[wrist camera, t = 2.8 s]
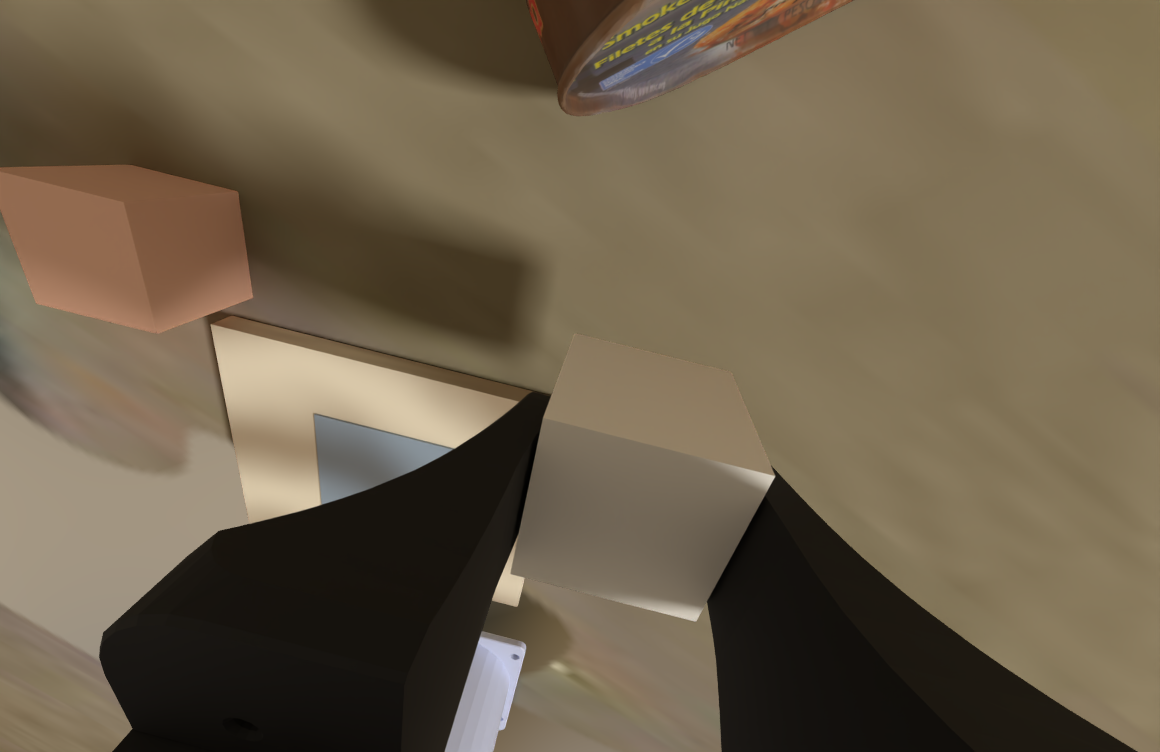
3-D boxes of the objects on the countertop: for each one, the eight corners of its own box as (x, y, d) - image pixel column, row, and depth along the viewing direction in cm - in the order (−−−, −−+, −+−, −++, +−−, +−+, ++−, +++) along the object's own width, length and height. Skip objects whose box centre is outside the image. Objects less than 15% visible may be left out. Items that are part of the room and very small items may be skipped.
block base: (680, 491, 13) (695, 621, 9) (546, 458, 13) (510, 574, 9) (731, 371, 11) (775, 476, 7) (574, 332, 11) (543, 417, 7)
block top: (254, 297, 18) (157, 333, 14) (157, 273, 18) (36, 303, 14) (239, 191, 16) (123, 201, 12) (131, 164, 16) (-16, 167, 12)
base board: (521, 589, 23) (516, 608, 22) (266, 524, 23) (250, 540, 22) (566, 399, 18) (562, 413, 17) (231, 315, 18) (208, 325, 17)
